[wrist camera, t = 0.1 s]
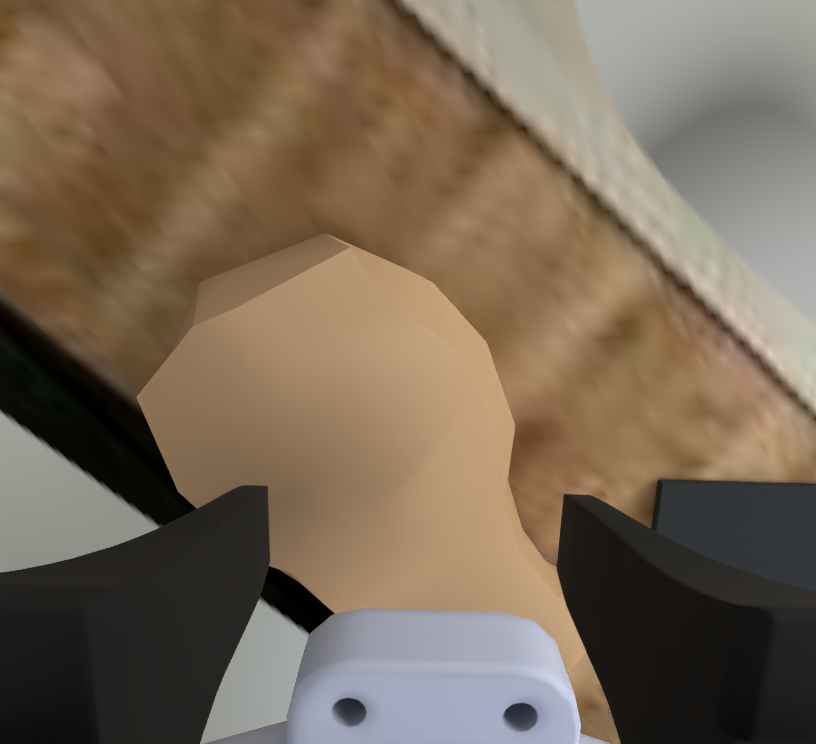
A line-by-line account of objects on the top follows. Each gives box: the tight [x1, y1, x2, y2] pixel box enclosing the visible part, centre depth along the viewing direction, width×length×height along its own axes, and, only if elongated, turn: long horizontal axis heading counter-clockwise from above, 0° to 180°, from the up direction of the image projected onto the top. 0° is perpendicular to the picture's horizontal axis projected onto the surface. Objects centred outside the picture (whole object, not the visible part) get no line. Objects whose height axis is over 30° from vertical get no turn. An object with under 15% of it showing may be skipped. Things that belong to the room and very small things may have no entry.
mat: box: [652, 480, 816, 591], centre depth 25 cm, size 12×11×1 cm
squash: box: [137, 233, 586, 673], centre depth 20 cm, size 11×20×9 cm, turn 39°
